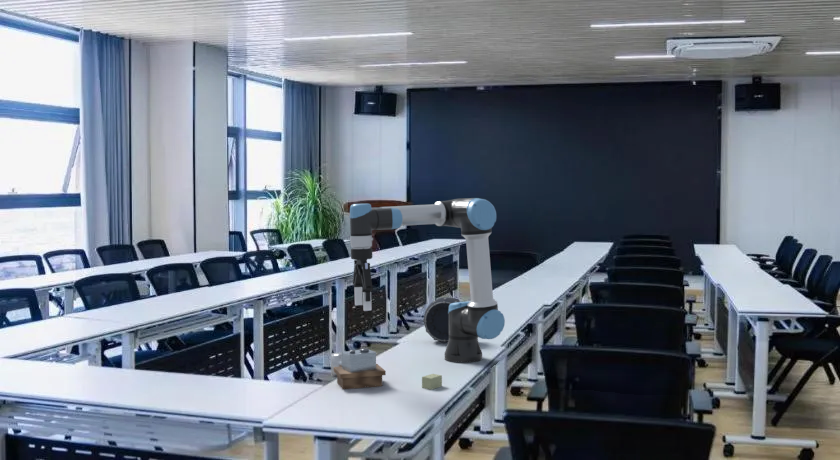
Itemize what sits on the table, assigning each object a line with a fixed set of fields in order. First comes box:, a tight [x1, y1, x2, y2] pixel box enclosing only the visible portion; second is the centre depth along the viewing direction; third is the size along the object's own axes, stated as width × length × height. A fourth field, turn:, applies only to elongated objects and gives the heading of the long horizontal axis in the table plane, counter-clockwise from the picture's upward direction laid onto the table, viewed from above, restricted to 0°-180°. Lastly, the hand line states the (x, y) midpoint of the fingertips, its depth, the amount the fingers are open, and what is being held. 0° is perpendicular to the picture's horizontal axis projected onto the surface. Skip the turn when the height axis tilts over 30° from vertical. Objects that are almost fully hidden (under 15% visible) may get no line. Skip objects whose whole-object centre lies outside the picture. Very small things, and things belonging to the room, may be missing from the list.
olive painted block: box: [421, 373, 443, 390], centre depth 290 cm, size 6×4×4 cm, turn 141°
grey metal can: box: [330, 351, 342, 378], centre depth 309 cm, size 6×6×8 cm
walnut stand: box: [334, 363, 387, 390], centre depth 295 cm, size 16×12×6 cm
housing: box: [341, 347, 377, 373], centre depth 295 cm, size 10×7×7 cm
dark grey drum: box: [422, 296, 461, 344], centre depth 372 cm, size 11×20×20 cm, turn 78°
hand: (363, 307), depth 295 cm, fingers open, 13 cm apart
